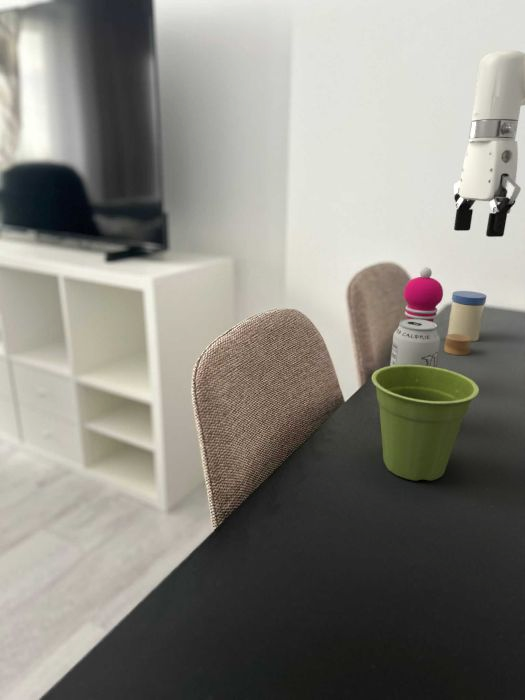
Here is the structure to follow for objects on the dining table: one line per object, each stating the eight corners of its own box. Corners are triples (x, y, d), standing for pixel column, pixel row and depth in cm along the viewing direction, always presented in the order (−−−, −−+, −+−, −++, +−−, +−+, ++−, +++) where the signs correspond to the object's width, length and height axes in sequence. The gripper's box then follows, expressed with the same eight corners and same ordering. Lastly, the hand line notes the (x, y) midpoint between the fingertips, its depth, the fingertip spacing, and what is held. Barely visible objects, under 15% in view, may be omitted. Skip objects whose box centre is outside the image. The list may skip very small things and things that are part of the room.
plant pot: (463, 452, 66) (477, 371, 63) (464, 504, 56) (481, 410, 52) (371, 435, 70) (379, 358, 66) (355, 481, 59) (364, 392, 56)
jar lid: (478, 297, 114) (479, 291, 114) (491, 305, 108) (492, 298, 108) (447, 297, 114) (448, 290, 114) (458, 304, 108) (459, 297, 107)
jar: (471, 332, 117) (478, 293, 114) (483, 341, 111) (490, 300, 108) (443, 332, 117) (448, 292, 114) (453, 341, 111) (459, 299, 108)
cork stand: (463, 347, 107) (465, 334, 106) (472, 355, 102) (474, 341, 101) (440, 347, 107) (442, 333, 106) (448, 355, 102) (450, 340, 101)
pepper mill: (381, 383, 87) (394, 266, 81) (404, 373, 92) (417, 262, 86) (420, 396, 83) (436, 273, 76) (441, 384, 87) (458, 268, 81)
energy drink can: (416, 439, 69) (430, 333, 64) (376, 425, 73) (386, 323, 68) (434, 424, 74) (449, 323, 69) (395, 411, 77) (407, 315, 72)
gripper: (547, 130, 82) (527, 238, 88) (480, 136, 98) (467, 228, 104) (507, 129, 81) (489, 239, 86) (445, 135, 96) (434, 228, 102)
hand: (477, 233), depth 95 cm, fingers open, 9 cm apart
